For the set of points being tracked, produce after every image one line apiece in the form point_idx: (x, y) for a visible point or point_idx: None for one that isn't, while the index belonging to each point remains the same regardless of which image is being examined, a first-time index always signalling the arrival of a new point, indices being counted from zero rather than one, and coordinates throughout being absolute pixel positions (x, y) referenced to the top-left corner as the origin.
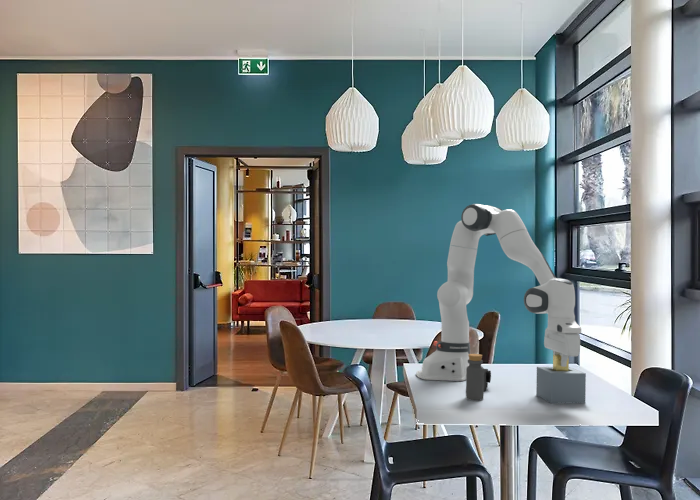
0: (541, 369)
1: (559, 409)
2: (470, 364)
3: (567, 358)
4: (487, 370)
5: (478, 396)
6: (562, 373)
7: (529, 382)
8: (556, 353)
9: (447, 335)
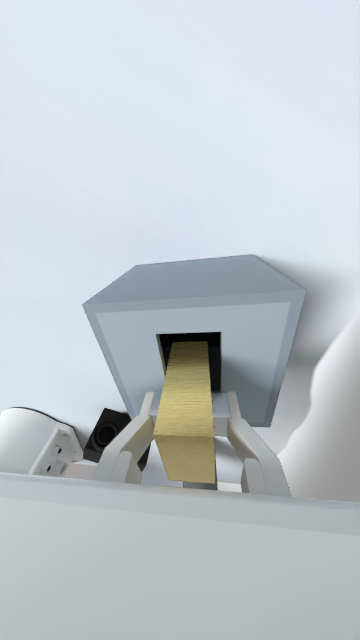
0: None
1: (305, 351)
2: None
3: (266, 446)
4: (99, 450)
5: (214, 447)
6: (277, 396)
7: (7, 322)
8: (138, 470)
9: None
